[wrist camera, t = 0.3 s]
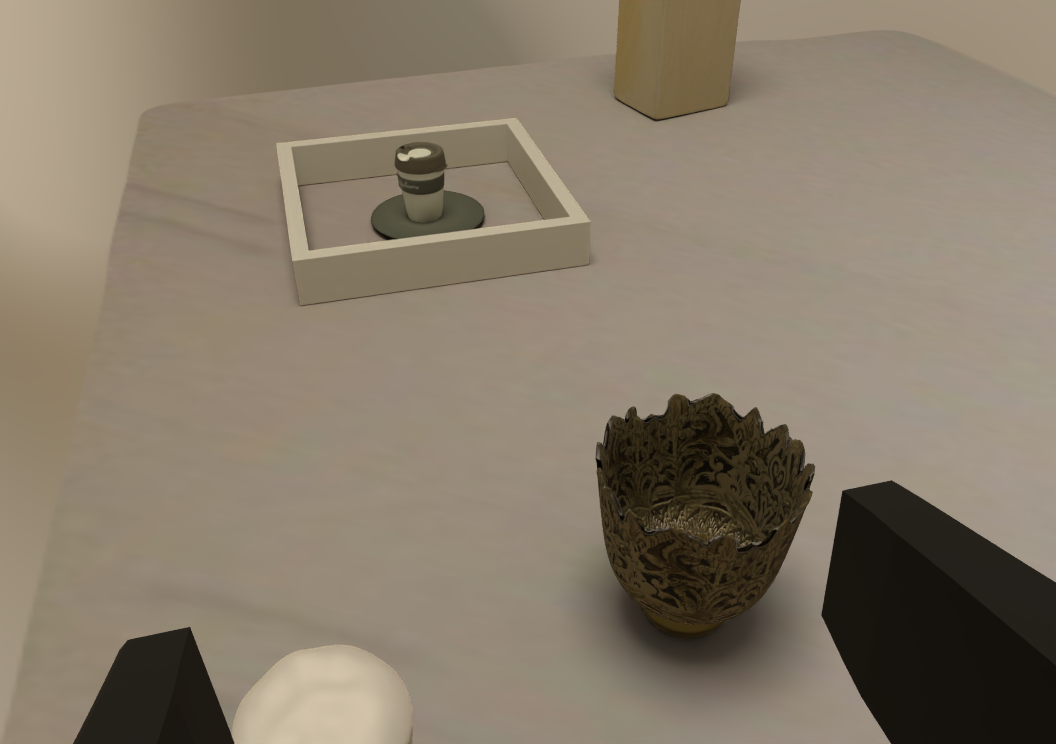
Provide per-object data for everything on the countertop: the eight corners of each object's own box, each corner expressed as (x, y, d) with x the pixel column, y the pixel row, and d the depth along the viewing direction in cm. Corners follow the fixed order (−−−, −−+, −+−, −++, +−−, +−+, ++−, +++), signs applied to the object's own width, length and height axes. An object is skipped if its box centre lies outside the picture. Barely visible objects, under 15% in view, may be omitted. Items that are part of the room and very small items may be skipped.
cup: (723, 523, 40) (748, 375, 36) (816, 658, 35) (860, 503, 30) (562, 563, 39) (566, 413, 34) (632, 713, 33) (648, 557, 28)
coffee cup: (542, 202, 66) (542, 134, 63) (447, 277, 57) (442, 203, 54) (403, 168, 70) (398, 104, 67) (298, 232, 62) (286, 163, 59)
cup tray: (588, 264, 59) (590, 221, 57) (300, 305, 55) (292, 261, 53) (516, 154, 73) (516, 117, 71) (283, 181, 69) (276, 143, 67)
